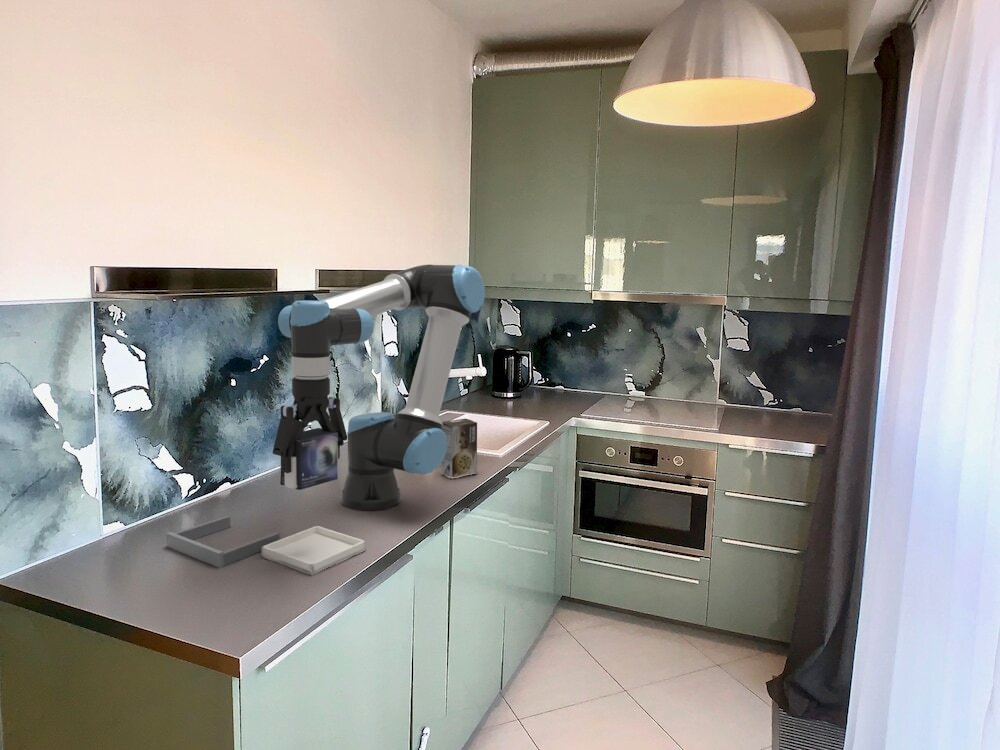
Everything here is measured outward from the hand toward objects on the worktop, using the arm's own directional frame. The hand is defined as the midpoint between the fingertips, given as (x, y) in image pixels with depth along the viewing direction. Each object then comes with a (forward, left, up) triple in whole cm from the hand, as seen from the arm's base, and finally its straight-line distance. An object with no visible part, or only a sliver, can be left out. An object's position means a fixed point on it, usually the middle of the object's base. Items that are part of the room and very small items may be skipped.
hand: (312, 480), depth 146 cm
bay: (+8, -19, -16) cm, 26 cm away
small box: (0, -1, -1) cm, 1 cm away
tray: (0, 0, -16) cm, 16 cm away
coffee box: (-65, -10, -16) cm, 68 cm away
